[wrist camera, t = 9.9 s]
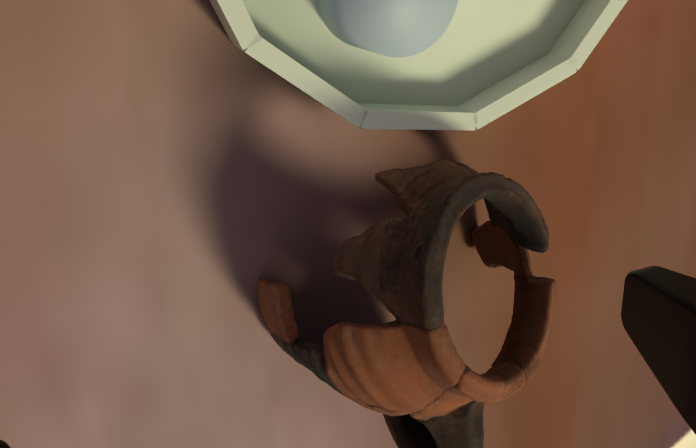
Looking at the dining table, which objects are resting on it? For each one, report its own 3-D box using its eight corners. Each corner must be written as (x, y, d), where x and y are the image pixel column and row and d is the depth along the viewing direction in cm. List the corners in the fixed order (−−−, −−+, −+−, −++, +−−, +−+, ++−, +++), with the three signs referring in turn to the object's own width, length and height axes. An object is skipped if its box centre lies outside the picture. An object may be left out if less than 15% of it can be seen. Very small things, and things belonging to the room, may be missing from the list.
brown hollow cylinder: (204, 217, 20) (362, 206, 14) (379, 144, 26) (546, 112, 19) (307, 497, 22) (479, 593, 16) (445, 372, 28) (610, 408, 22)
